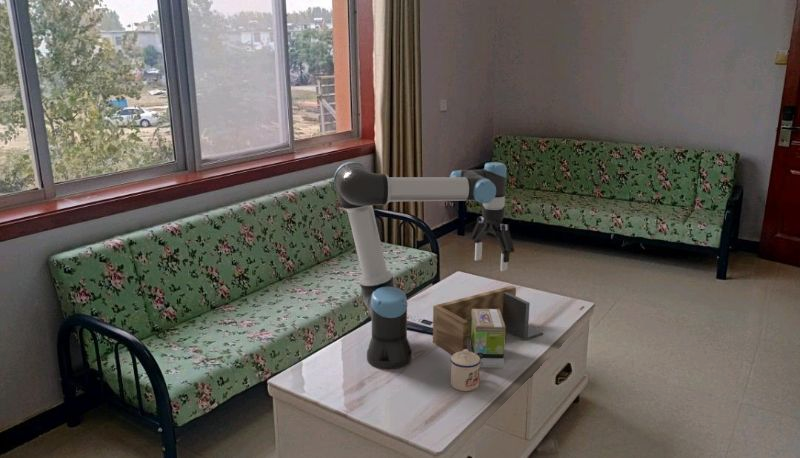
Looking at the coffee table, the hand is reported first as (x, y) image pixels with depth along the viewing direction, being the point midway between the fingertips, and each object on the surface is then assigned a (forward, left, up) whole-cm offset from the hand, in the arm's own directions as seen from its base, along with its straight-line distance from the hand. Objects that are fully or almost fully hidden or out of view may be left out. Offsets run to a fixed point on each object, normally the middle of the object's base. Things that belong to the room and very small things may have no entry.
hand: (490, 264), depth 226 cm
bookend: (+9, -8, -25) cm, 28 cm away
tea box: (-14, -17, -25) cm, 34 cm away
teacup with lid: (-30, -27, -25) cm, 47 cm away
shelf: (-5, -7, -25) cm, 27 cm away
